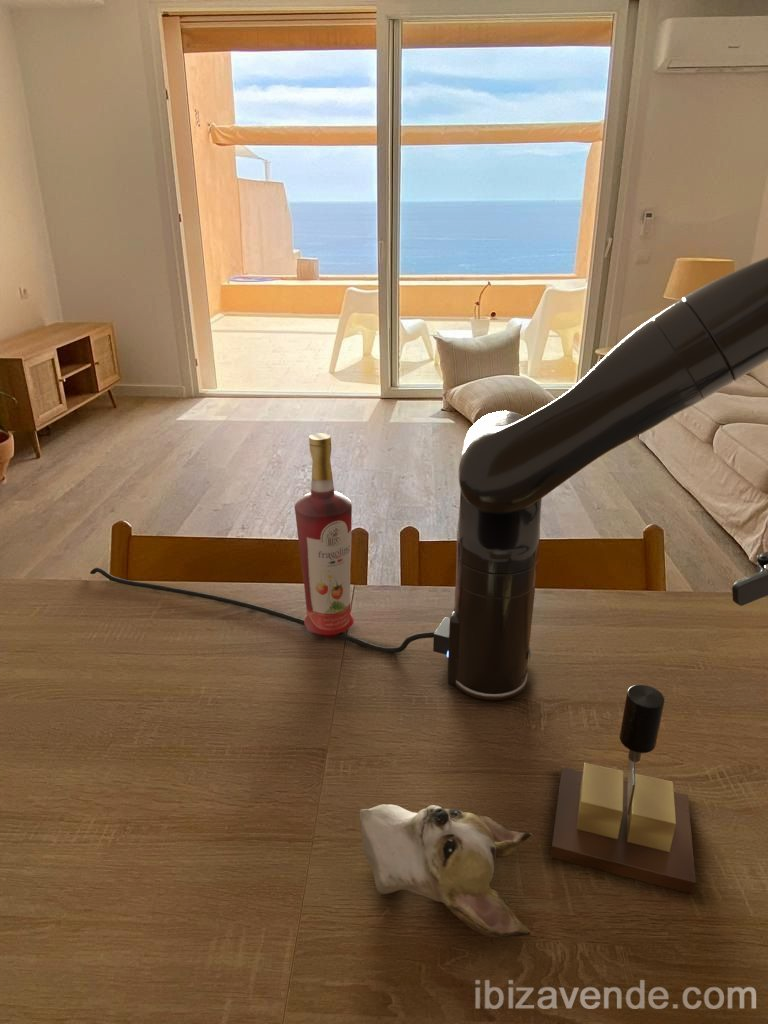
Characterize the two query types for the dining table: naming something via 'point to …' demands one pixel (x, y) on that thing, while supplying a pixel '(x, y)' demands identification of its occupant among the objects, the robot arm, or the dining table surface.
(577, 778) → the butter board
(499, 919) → the ceramic sculpture
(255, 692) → the dining table surface
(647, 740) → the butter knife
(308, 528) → the liquor
